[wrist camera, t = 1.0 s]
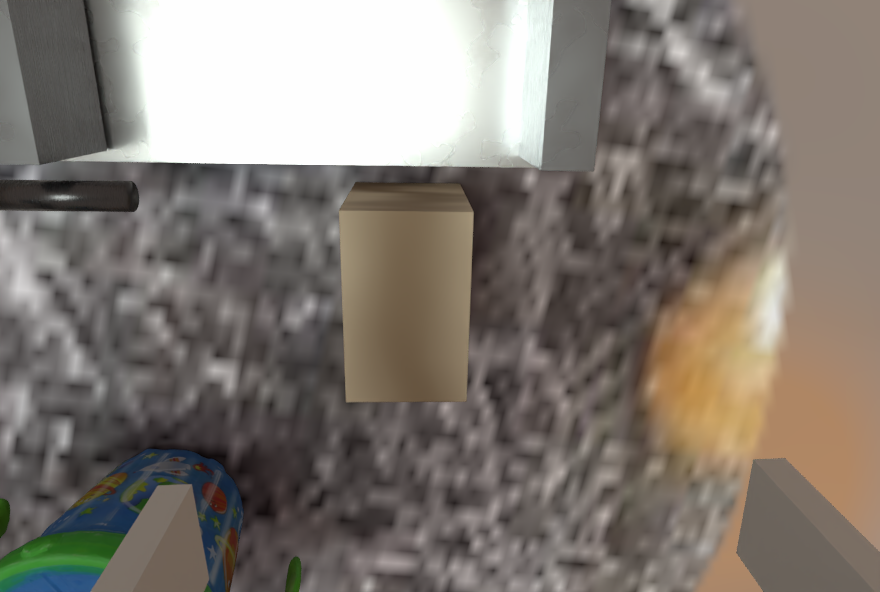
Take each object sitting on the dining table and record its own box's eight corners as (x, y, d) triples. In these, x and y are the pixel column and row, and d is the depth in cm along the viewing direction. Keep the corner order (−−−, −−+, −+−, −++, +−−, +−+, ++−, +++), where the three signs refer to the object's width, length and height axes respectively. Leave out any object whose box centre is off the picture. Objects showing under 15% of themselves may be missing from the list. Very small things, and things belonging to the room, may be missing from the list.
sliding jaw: (21, 198, 26) (-63, 222, 22) (-40, -94, 23) (-158, -141, 18) (160, 199, 27) (107, 223, 22) (122, -88, 23) (47, -133, 18)
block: (359, 335, 31) (346, 402, 25) (355, 182, 29) (338, 210, 22) (454, 335, 32) (466, 401, 25) (459, 183, 29) (473, 211, 22)
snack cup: (19, 530, 34) (-133, 703, 25) (55, 376, 31) (-104, 505, 22) (283, 601, 37) (237, 783, 27) (339, 465, 34) (311, 615, 24)
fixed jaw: (518, 156, 27) (541, 170, 22) (532, -72, 24) (562, -111, 19) (562, 156, 27) (593, 171, 22) (581, -71, 24) (622, -109, 19)
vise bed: (38, 156, 28) (18, 160, 26) (-12, -95, 24) (-38, -107, 23) (553, 164, 29) (561, 167, 27) (572, -76, 25) (582, -85, 24)
